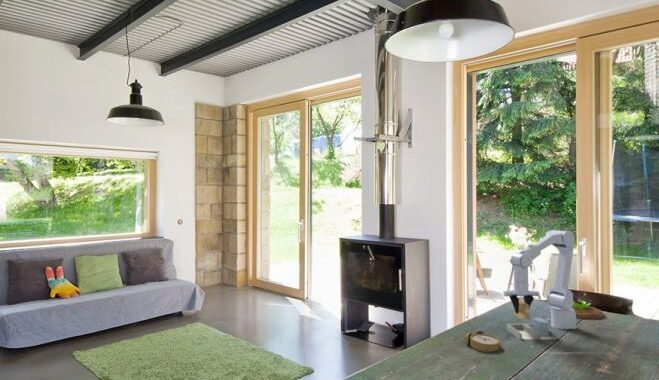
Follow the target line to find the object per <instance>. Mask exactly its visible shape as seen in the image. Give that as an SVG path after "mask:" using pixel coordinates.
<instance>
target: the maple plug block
mask: <svg viewBox="0 0 659 380" xmlns="http://www.w3.org/2000/svg"><path fill="white" fill-rule="evenodd" d="M513 315H514V316H515V317H517V318H519V320H529V319H530V308H529V305H528V304H527V303H525V302H524V300H519V303H518V313H515V310H514V309H513Z"/></svg>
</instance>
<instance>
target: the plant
mask: <svg viewBox="0 0 659 380" xmlns="http://www.w3.org/2000/svg"><path fill="white" fill-rule="evenodd" d="M581 294H582V295H583V296H584V297H585V296H586V295H587V293H586V292H585V291H584V292H583V291H581V292H580V293H578V295H577V298H576V296H574V295H573V302H574V303H573V307H572V308H571V309H573V310H574V311H575V314H576V319H581V320H601V318H603V316H604V313H603V311H602V310H601V309H600V308H599V309H598V308H596V307H594V306H591V304H592V303H587V301H584V300H582V299H581Z"/></svg>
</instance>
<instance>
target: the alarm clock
mask: <svg viewBox="0 0 659 380" xmlns="http://www.w3.org/2000/svg"><path fill="white" fill-rule="evenodd" d="M463 339H464V342H465V344H466V345H469V346H470V347H471V348H473V349H474V350H476V351H480V352H484V353H485V352H486V353H492V352H497V351H499V350H500V347H502V348H503V347H504V346H503V345H502V344H500V343H501V341H500V339H499V338H498V337H497V336H494V335H491V334H488V333H485V332H483V331H482V330H476V331H475V332H466V333H464V336H463Z"/></svg>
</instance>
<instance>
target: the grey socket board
mask: <svg viewBox="0 0 659 380" xmlns="http://www.w3.org/2000/svg"><path fill="white" fill-rule="evenodd" d="M506 330H507V331H509V332H510V333H511V334H512V335H514V336H515V337H516V338H518V339H519V340H557V339H558V337H557V332H554V331H553V330H552V329H550V328H549V337H541V333H539V332H538V331H536V330H535V329H533V323H506Z"/></svg>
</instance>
